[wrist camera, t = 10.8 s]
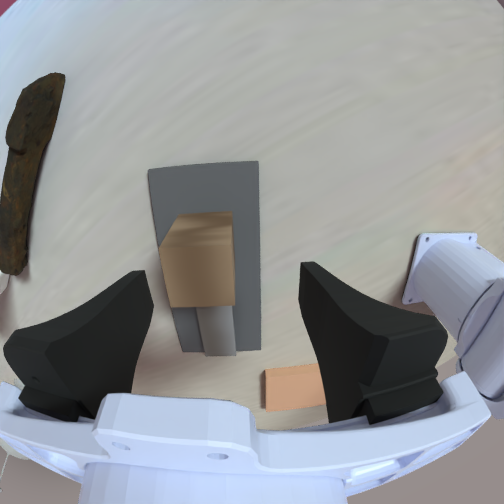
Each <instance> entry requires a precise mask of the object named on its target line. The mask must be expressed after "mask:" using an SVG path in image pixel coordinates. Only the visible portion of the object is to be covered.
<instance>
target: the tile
mask: <svg viewBox="0 0 504 504" xmlns="http://www.w3.org/2000/svg"><path fill="white" fill-rule="evenodd" d="M324 404H326V400H325V394H324V388H323V383H322V378H321V374H320V369H319V365H318V363H317V364H309V365H301V366H293V367H283V368H272V369H265V406H266V412H271V411H281V410H290V409H298V408H305V407H312V406H318V405H324Z"/></svg>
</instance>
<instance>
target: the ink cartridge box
mask: <svg viewBox="0 0 504 504" xmlns="http://www.w3.org/2000/svg"><path fill="white" fill-rule="evenodd" d="M8 279H9V274H4V273H2V272H1V270H0V294H1V293H2V292H3V291H4V290H5V289H6V288H7V284H8Z"/></svg>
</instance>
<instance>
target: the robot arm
mask: <svg viewBox="0 0 504 504" xmlns="http://www.w3.org/2000/svg"><path fill="white" fill-rule="evenodd" d="M426 238H427V239H426ZM425 239H426V240H425ZM476 241H477V234H476V233H423V234H420V235H419V237H418V240H417V245H416V250H415V254H414V258H413V262H412V266H411V270H410V274H409V277H408V281H407V285H406V288H405V291H404V295H403V298H402V303H403V304H404V305H406V304H412V303H418V302H423V301H424V302H425V303H426V304H427V306H428V307H429V308H430V309H431V310H432V311H433V313H434V314H435V315H436V316H437V317H438V319H439V320H440V321H441V322H442V324H443V325H444V326H445V327H446V329H447V330H448V331H449V332H450V334H451V335H452V336H453V338H454V339H455V340H456V341H457V345H456V347H455V348H454V351H455V352H456V354H457V355H458V356H459V359H458V360H457V362H456V373H457V374H455V375H453V376H450V377H448V378H446V379H444V380H443V381H442V382H440V383H438V381H437V380H436V377H437V375H438V372H437V370H436V368H435V365H436V364H437V362H438V360H439V358H440V356H441V355H442V353H443V351H444V349H445V346H446V344H447V339H448V334H447V331H446V329H445V328H444V327H443V326H442V324H441V323H440V322H439V321H438V319H437V318H436V317H435V316H430V315H425V314H419V313H414V312H410V311H406V310H403V309H399V308H396V307H393V306H390V305H387V304H385V303H382V302H379V301H377V300H375V299H373V298H371V297H369V296H366V295H364V294H362V293H361V292H359V291H357V290H355V289H354V288H352V287H350V286H349V285H347V284H345V283H344V282H342V281H341V280H339V279H338V278H337V277H335V276H334V275H332V274H331V273H329V272H328V271H327V270H325V269H324V268H323V267H321V266H320V265H318V264H317V263H315V262H301V266H300V283H299V297H298V300H299V305H300V310H301V314H302V318H303V321H304V324H305V326H306V329H307V332H308V335H309V337H310V340H311V343H312V345H313V348H314V351H315V354H316V357H317V360H318V365H319V369H320V374H321V378H322V383H323V388H324V394H325V400H326V406H327V412H328V419H329V424H324V425H318V426H312V427H305V428H298V429H290V430H263V429H256V425H255V417H254V416H253V414H252V413H251V411H250V410H249V409H248V408H246V407H245V406H242V405H240V404H237V403H235V402H233V401H230V400H222V399H214V398H182V397H164V396H151V395H140V394H131V390H132V383H133V378H134V372H135V367H136V363H137V360H138V357H139V354H140V351H141V348H142V345H143V343H144V340H145V337H146V334H147V331H148V328H149V326H150V322H151V318H152V313H153V308H154V304H153V301H152V297H151V293H150V290H149V286H148V282H147V278H146V274H145V270H139V271H132V272H130V273H128V274H127V275H125V276H124V277H122V278H121V279H119V280H118V281H116V282H115V283H114V284H112V285H111V286H109V287H108V288H107V289H105V290H104V291H102V292H101V293H99V294H98V295H97V296H95V297H94V298H92V299H91V300H89V301H88V302H86V303H84V304H83V305H81V306H79V307H77V308H75V309H74V310H72V311H70V312H68V313H65V314H63V315H61V316H59V317H57V318H54V319H52V320H49V321H47V322H44V323H41V324H38V325H34V326H30V327H26V328H22V329H18V330H15V331H14V332H13V334H12V335H11V336H10V338H9V339H8V341H7V342H6V343H5V345H4V347H3V352H4V356H5V358H6V360H7V362H8V364H9V365H10V367H11V368H12V370H13V371H14V372H15V374H16V375H17V376H18V378H19V379H20V380H21V382H22V383H23V384H24V385H25V386H24V388H23V390H21V389H19V388H18V387H16V386H14V385H12V384H9V383H7V382H4V381H2V383H1V385H0V438H1V439H3V440H4V441H5V442H6V443H7V444H8V445H10V446H11V447H12V448H13V449H14V450H16V451H17V452H19V453H21V454H22V455H24V456H26V457H28V458H30V459H32V460H33V461H35V462H37V463H39V464H41V465H43V466H45V467H47V468H48V469H51V470H52V471H54V472H57V473H59V474H61V475H63V476H65V477H67V478H69V479H72V480H74V481H77V482H79V483H81V484H82V486H81V491H80V496H79V500H78V504H348V503H347V498H346V497H347V496H351V495H354V494H357V493H360V492H363V491H366V490H369V489H372V488H374V487H377V486H380V485H382V484H385V483H387V482H390V481H392V480H395V479H397V478H399V477H401V476H404V475H406V474H408V473H410V472H412V471H414V470H416V469H418V468H420V467H422V466H424V465H426V464H428V463H430V462H432V461H434V460H436V459H438V458H440V457H441V456H443V455H445V454H447V453H448V452H450V451H452V450H454V449H455V448H457V447H459V446H460V445H461V444H462V443H464V442H465V441H466V440H467V439H468V438H469V437H470V436H471V435H472V434H473V433H475V432H476V431H477V429H479V428H480V427H481V426H482V425H483V424H484V423H485V422H486V421H487V419H489V418H490V417H491V415H493V416H494V418H495V419H504V263H503V262H502V261H500V260H499V259H498V258H496V257H495V256H494V255H492V254H491V253H490V252H488V251H487V250H486V249H484V248H483V247H481V246H480V245H478V244H477V243H476Z"/></svg>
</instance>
